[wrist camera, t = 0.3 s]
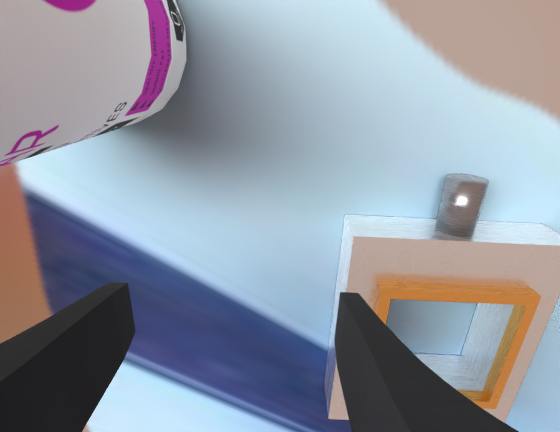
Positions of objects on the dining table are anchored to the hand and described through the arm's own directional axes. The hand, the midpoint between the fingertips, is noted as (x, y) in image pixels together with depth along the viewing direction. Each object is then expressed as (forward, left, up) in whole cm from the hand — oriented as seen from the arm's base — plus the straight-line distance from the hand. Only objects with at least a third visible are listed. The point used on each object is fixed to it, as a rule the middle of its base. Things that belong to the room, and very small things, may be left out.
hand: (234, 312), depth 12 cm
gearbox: (-6, -11, -10) cm, 16 cm away
